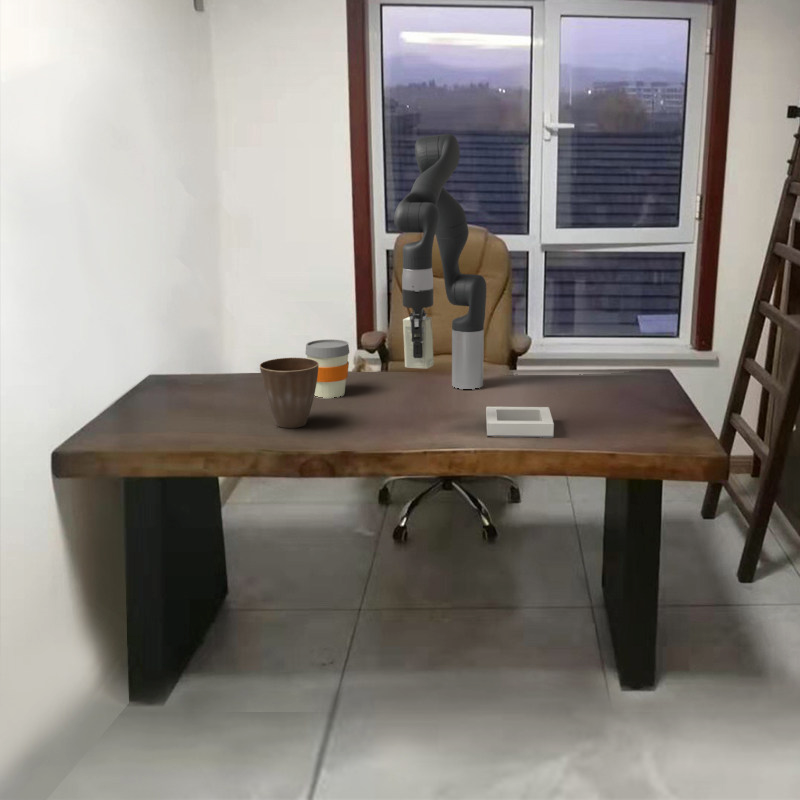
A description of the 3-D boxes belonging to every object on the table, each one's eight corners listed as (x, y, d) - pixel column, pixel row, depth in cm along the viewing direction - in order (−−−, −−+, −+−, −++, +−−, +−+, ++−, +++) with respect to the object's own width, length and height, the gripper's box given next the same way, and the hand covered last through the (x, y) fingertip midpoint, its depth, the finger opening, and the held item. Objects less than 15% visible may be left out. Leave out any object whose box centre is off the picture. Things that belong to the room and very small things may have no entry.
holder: (486, 419, 235) (486, 406, 234) (548, 420, 233) (548, 407, 233) (487, 437, 220) (487, 423, 219) (553, 437, 219) (553, 423, 218)
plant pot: (332, 420, 236) (330, 360, 232) (299, 435, 223) (296, 373, 219) (285, 413, 243) (282, 355, 239) (251, 428, 231) (247, 367, 226)
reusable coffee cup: (354, 389, 267) (352, 339, 263) (346, 400, 255) (344, 348, 251) (312, 388, 269) (310, 339, 265) (302, 399, 257) (300, 347, 253)
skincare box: (434, 365, 224) (433, 317, 221) (427, 369, 221) (426, 320, 217) (410, 363, 227) (409, 315, 224) (403, 367, 223) (402, 318, 220)
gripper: (404, 282, 226) (405, 348, 230) (400, 291, 212) (401, 361, 216) (434, 282, 225) (434, 348, 230) (432, 291, 211) (432, 361, 216)
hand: (418, 354), depth 223 cm, fingers closed on skincare box, 5 cm apart
